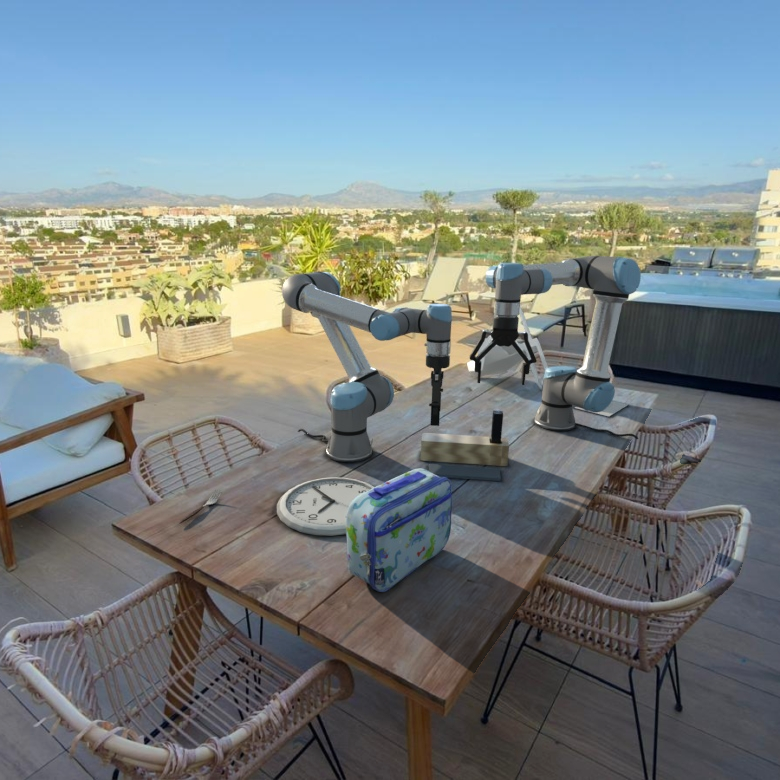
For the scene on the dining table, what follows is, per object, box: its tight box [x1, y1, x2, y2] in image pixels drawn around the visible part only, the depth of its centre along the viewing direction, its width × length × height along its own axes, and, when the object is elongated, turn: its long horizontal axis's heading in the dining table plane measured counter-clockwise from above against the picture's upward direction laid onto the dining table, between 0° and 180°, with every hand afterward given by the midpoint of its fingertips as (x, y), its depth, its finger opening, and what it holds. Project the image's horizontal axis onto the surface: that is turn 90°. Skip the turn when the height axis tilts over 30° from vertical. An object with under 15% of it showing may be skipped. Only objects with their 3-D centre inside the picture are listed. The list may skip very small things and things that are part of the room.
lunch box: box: [345, 467, 453, 593], centre depth 115 cm, size 26×11×21 cm, turn 135°
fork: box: [178, 489, 223, 525], centre depth 139 cm, size 3×16×2 cm, turn 160°
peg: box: [490, 410, 504, 444], centre depth 169 cm, size 3×3×17 cm
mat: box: [428, 463, 502, 482], centre depth 162 cm, size 22×7×1 cm, turn 83°
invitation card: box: [573, 400, 629, 418], centre depth 226 cm, size 21×1×15 cm
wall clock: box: [276, 476, 376, 537], centre depth 142 cm, size 30×2×30 cm
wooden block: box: [420, 432, 510, 467], centre depth 172 cm, size 28×7×7 cm, turn 83°
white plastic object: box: [466, 307, 549, 390], centre depth 259 cm, size 37×45×31 cm
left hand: (435, 417), depth 170 cm, fingers open, 13 cm apart
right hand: (500, 383), depth 164 cm, fingers open, 13 cm apart
